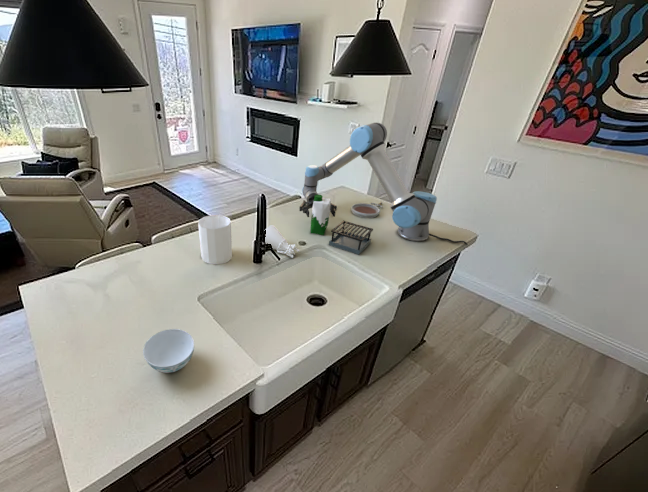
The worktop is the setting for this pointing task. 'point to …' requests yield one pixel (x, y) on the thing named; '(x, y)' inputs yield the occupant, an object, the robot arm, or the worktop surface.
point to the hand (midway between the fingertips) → (321, 214)
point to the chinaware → (169, 350)
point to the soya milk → (320, 214)
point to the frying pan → (366, 210)
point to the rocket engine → (279, 241)
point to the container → (215, 239)
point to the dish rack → (350, 238)
